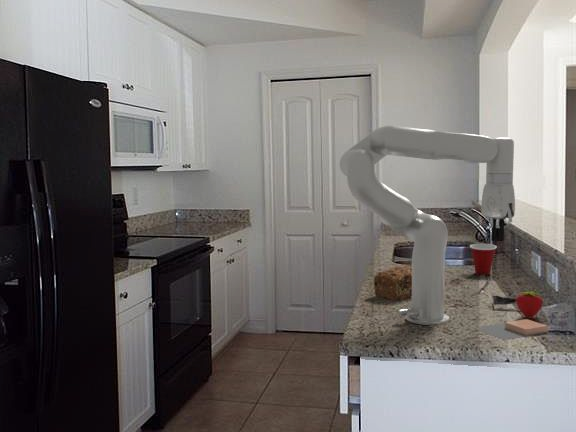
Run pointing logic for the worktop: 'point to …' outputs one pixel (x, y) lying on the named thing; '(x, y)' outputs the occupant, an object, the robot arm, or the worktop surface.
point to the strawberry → (529, 303)
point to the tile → (526, 327)
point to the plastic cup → (483, 257)
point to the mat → (502, 332)
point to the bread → (394, 283)
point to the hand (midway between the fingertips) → (497, 240)
